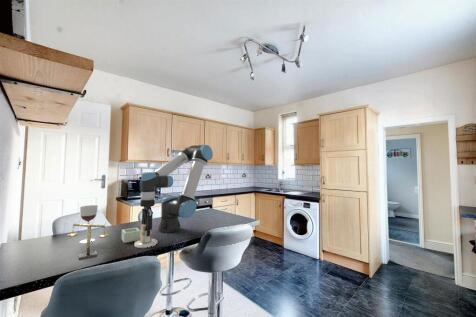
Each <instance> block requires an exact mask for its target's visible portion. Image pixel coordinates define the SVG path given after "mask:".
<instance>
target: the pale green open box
mask: <svg viewBox="0 0 476 317" xmlns="http://www.w3.org/2000/svg"><path fill="white" fill-rule="evenodd" d="M139 240H140V229H139V227H130V228H125V229H124V228H123V229H121V241H122V242H123V243H124V244H126V243H130V242H136V241H139Z"/></svg>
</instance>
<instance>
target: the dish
mask: <svg viewBox="0 0 476 317" xmlns="http://www.w3.org/2000/svg"><path fill="white" fill-rule="evenodd" d="M158 241H159V240H157V239H156V238H152V242H146V243H141V241H140V240H137V241H134V247H135V248H137V249H146V248H147V247H148V248H151V246H152V247H155V246H157V245H158ZM156 244H157V245H156Z"/></svg>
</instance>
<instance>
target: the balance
mask: <svg viewBox="0 0 476 317" xmlns="http://www.w3.org/2000/svg"><path fill="white" fill-rule="evenodd" d="M74 227H86V228H87V227H88V231H87V230H86V231H87V232H86V239H87V243H86V252H83V253H79V254H78V260H84V259H90V258H94V257H97V256H98V253H97V250H93V251H91V242H90V241H91V239H92V238H91V237H92V234H91V233H92V228H103V234H100V235H98V238H100V239H104V238H108V237H110V234H109V233H105V232H106V225H103V224H101V225H100V224H89V225H88V223H87V224H86V223H85V224H84V223H73V224H72V231H74ZM77 236H79V233H78V232H72V233H68V234H66V237H67V238H72V237H77Z"/></svg>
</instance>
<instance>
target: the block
mask: <svg viewBox="0 0 476 317" xmlns="http://www.w3.org/2000/svg"><path fill="white" fill-rule="evenodd" d="M139 230H140V241H141V243H146V242H145V230H146V224H142V223H141V224H140V229H139ZM152 237H153V228H152V229H151V234H150V242H152V239H153V238H152Z"/></svg>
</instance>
